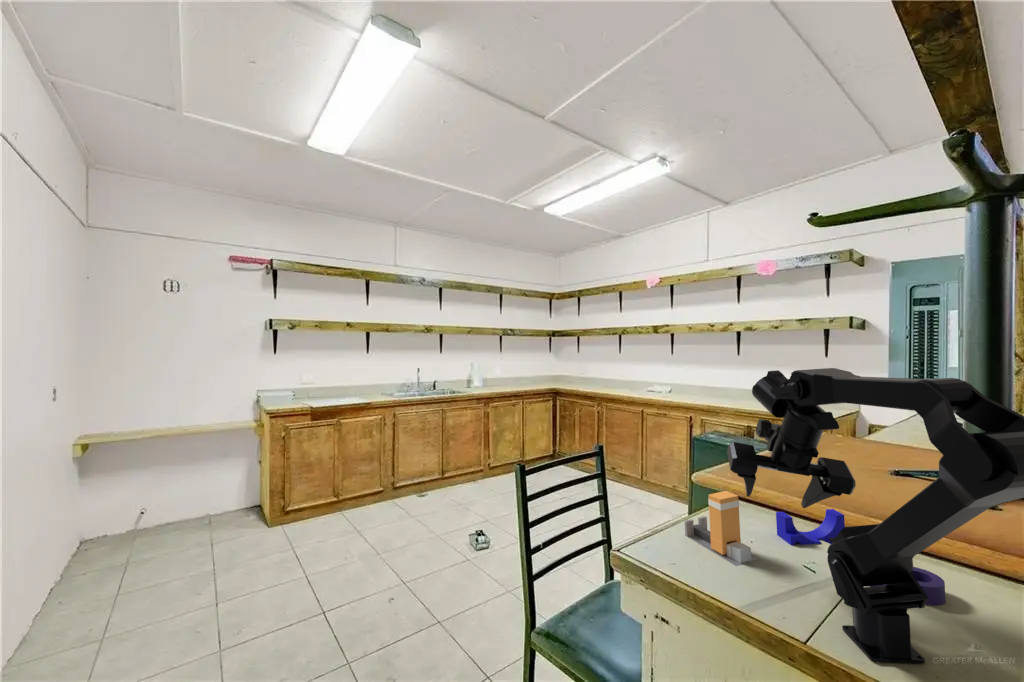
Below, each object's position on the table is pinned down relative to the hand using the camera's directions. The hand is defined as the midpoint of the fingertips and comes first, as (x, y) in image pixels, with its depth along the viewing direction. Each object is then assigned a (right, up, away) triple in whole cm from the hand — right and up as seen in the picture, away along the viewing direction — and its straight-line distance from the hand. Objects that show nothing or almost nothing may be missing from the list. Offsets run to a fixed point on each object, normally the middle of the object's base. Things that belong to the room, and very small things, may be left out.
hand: (774, 500), depth 80 cm
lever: (+15, -12, -8) cm, 21 cm away
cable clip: (+13, -12, +8) cm, 19 cm away
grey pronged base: (-7, -13, +7) cm, 16 cm away
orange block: (-7, -12, +5) cm, 14 cm away
